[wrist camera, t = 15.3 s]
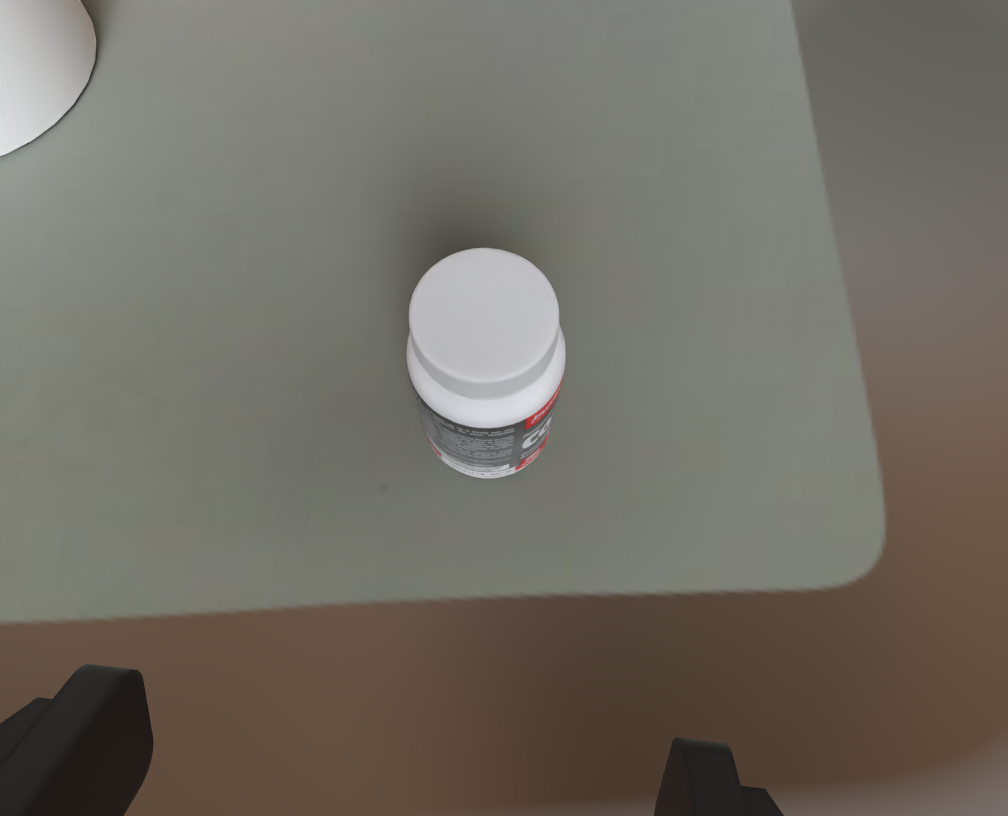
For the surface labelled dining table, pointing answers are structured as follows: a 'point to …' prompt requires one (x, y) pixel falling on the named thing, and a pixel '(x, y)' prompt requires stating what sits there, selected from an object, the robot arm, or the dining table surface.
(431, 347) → the pill bottle
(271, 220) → the dining table surface
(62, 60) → the cup
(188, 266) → the dining table surface
